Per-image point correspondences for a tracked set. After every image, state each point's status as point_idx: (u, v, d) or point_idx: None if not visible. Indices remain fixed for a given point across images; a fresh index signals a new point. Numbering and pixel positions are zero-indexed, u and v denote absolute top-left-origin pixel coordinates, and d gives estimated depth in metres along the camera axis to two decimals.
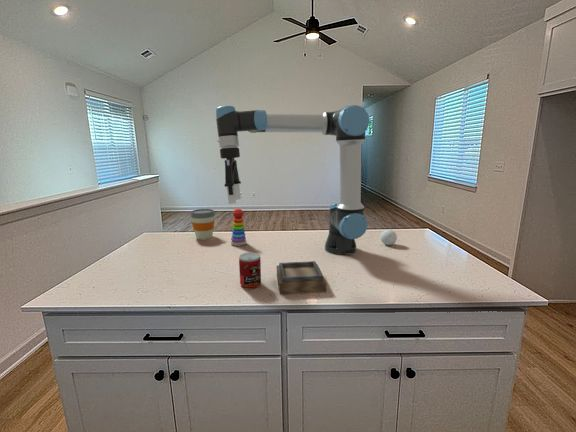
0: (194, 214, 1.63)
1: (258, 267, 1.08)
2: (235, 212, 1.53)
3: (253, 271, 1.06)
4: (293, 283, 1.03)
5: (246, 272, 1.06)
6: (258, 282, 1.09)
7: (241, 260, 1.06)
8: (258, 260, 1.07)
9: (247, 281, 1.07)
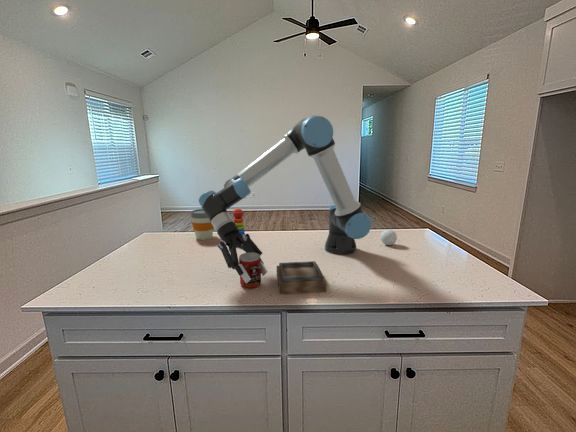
0: (194, 214, 1.63)
1: (258, 267, 1.08)
2: (235, 212, 1.53)
3: (253, 271, 1.06)
4: (293, 283, 1.03)
5: None
6: (258, 282, 1.09)
7: (241, 260, 1.06)
8: (258, 260, 1.07)
9: None
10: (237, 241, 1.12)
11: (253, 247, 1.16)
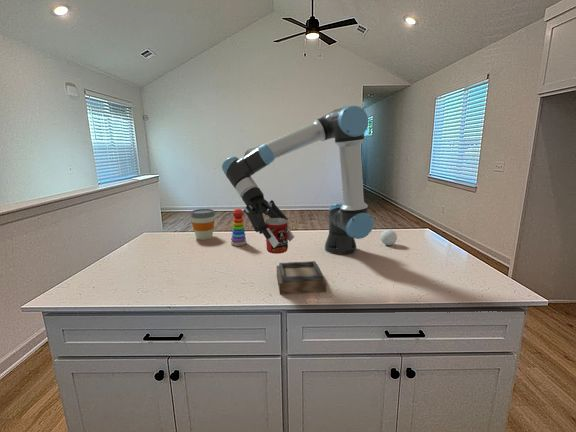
0: (194, 214, 1.63)
1: (285, 231, 1.05)
2: (235, 212, 1.53)
3: (281, 235, 1.04)
4: (293, 283, 1.03)
5: None
6: (285, 247, 1.06)
7: (268, 224, 1.04)
8: (285, 224, 1.05)
9: None
10: (263, 206, 1.10)
11: (278, 213, 1.13)
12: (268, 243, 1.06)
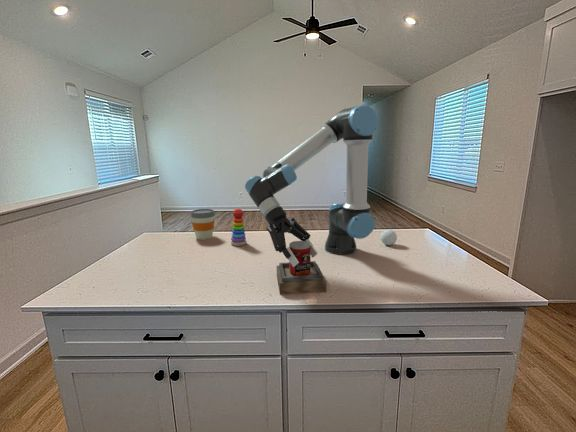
0: (194, 214, 1.63)
1: (309, 255, 1.08)
2: (235, 212, 1.53)
3: (305, 259, 1.06)
4: (293, 283, 1.03)
5: None
6: (308, 270, 1.09)
7: (293, 248, 1.06)
8: (309, 248, 1.07)
9: (299, 268, 1.07)
10: (286, 226, 1.12)
11: (301, 230, 1.16)
12: (292, 266, 1.08)
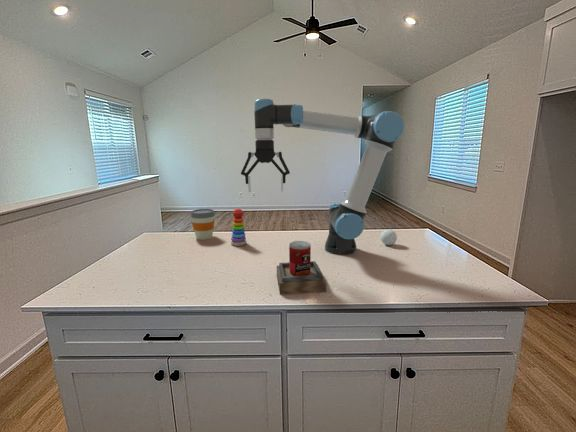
0: (194, 214, 1.63)
1: (309, 255, 1.08)
2: (235, 212, 1.53)
3: (305, 259, 1.06)
4: (293, 283, 1.03)
5: (298, 260, 1.06)
6: (308, 270, 1.09)
7: (293, 248, 1.06)
8: (309, 248, 1.07)
9: (299, 269, 1.07)
10: (265, 158, 1.25)
11: (283, 166, 1.26)
12: (292, 266, 1.08)
